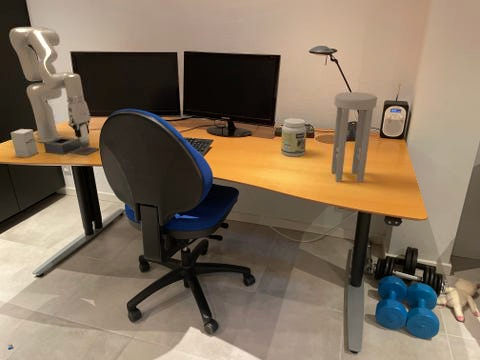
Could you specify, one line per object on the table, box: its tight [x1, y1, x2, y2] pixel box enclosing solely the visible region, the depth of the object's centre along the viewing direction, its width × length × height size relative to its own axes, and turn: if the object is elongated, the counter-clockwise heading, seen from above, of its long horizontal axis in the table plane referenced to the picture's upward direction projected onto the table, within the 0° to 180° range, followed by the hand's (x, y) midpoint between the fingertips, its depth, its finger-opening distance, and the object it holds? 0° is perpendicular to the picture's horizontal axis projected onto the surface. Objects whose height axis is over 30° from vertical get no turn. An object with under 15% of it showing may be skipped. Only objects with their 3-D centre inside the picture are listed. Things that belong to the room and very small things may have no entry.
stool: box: [330, 91, 378, 183], centre depth 155 cm, size 16×16×35 cm
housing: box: [43, 136, 81, 156], centre depth 198 cm, size 12×12×5 cm
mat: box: [70, 146, 100, 157], centre depth 196 cm, size 10×10×1 cm
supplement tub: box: [280, 117, 307, 158], centre depth 187 cm, size 12×12×17 cm
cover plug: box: [77, 122, 91, 148], centre depth 192 cm, size 5×5×12 cm
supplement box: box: [10, 128, 39, 158], centre depth 190 cm, size 7×7×13 cm
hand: (82, 134), depth 192 cm, fingers closed on cover plug, 5 cm apart
